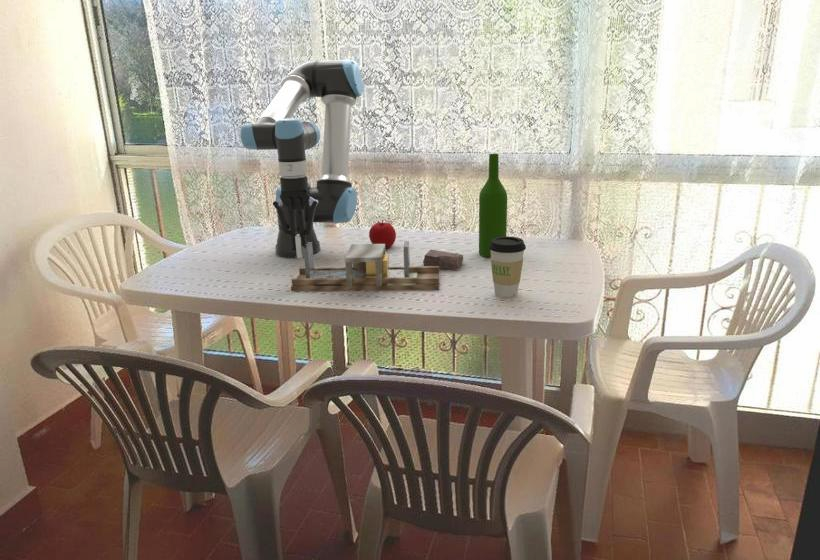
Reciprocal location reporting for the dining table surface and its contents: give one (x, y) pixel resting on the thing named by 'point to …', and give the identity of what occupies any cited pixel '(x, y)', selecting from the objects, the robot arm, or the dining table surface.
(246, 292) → the dining table surface
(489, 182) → the wine bottle
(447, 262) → the stone
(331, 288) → the tunnel board
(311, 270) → the grey u-shaped piece
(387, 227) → the apple
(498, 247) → the coffee cup
